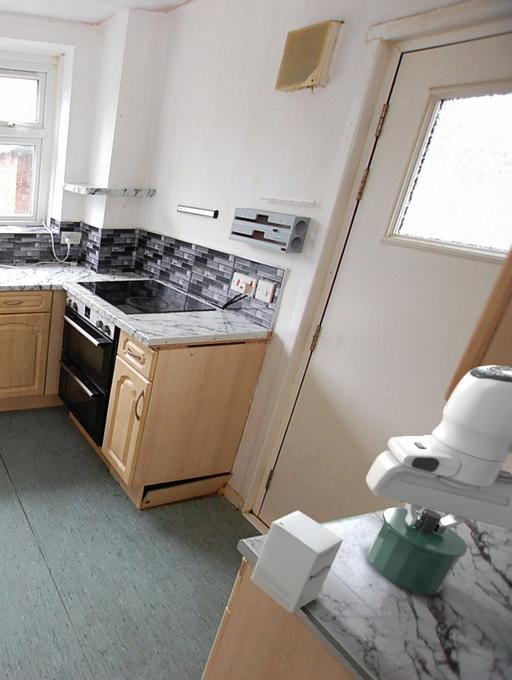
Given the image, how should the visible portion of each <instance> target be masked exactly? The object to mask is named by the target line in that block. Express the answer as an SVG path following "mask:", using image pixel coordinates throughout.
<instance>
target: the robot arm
mask: <svg viewBox="0 0 512 680" xmlns="http://www.w3.org/2000/svg"><path fill="white" fill-rule="evenodd" d="M450 394H451V395H450V396H449V398H448V400H447V401H446V403H445V406H444V408H443V411H442V418H441V421H440V423H439V424H438V425H437V426H436V427H435V428H434V429H433V431H432V432H431V434H430V435H419V436H418V435H417V436H392V437H390V438H389V439H388V441H387V447H388V449H389V450H385V451H382V452H381V453H380V454H379V455H378V456H376V458H375V460H374V461H373V463H372V465H371V467H370V469H369V470H368V472H367V475H366V477H365V482H366V484H367V487H368V488H369V490H370V491H371V492H372V494H373V495H375V496H377V497H380V498H384V499H388V500H392V501H396V502H400V503H403V504H405V508H406V509H407V511H408V514H407V516H406V518H405V521H406V523H407V524H408V525H409V526H413V527H417V528H420V527H421V524H422V523H423V520H422V518H420V516H419V514H416V512H421V511H422V510H423V509H430V510H433V511H435V512H439V513H444V514H448V515H446V516H444V517H442V518H441V520H440V522H439V524H438V526H437V528H436V529H435V531H434V532H436V533H440V534H444V535H447V534H448V532H449V530H450V529H453V528H456V527H457V526H460V525H462V524H464V523H465V522H466V520H467V519H469V520H473V521H477V522H481V523H485V524H489V525H492V526H497V527H500V528H504V529H507V530H508V529H509V530H512V471H509V470H506V469H503V468H504V467H505V464H506V462H507V461H508V459H509V457H510V455H512V366H506V365H483V366H477V367H474V368H472V369H471V370H469V371H468V372H466V374H465V375H464V376H463V377H462V378H461V379H460V380H459V382H458V383H457V385H456V386H455V388H454V389H453V391H452V393H450Z"/></svg>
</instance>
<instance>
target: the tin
mask: <svg viewBox="0 0 512 680" xmlns="http://www.w3.org/2000/svg"><path fill="white" fill-rule="evenodd" d="M460 558H461V557H458V558H450V557H444V556H440V555H436V554H433V553H430V552H428V551H425V550H423V549H421V548H418V547H416V546H414V545H413V544H411V543H409V542H407V541H406V540H404V539H403V538H401V537H400V536H398V535H397V534H396V533H394V532H393V531H392V530H391V529H390V528H389V527H388V526H387V524H386V523H385V521H384V519H382V522H381V525H380V526H379V528H378V531H377V532H376V535H375V536H374V539H373V540H372V543H371V545H370V547H369V550H368V552H367V559H368V561H369V563H370V564H371V566H372V567H373V568H374V569H375V570H376V571H377V572H378V573H379V574H381V576H382V577H384V578H385V579H387V580H388V581H389V582H391V583H393V584H394V585H396V586H398V587H399V588H402V589H404V590H406V591H408V592H411V593H415V594H418V595H423V596H435V595H437V594H439V593H440V592H441V590H442V589H443V588H444V586H445V584H446V583H447V581H448V579H449V577H450V575H451V574H452V572H453V570H454V568H456V565H457V563H458V561H459V560H460Z"/></svg>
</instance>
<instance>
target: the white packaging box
mask: <svg viewBox="0 0 512 680" xmlns="http://www.w3.org/2000/svg"><path fill="white" fill-rule="evenodd" d="M343 541H344V539H343V538H342V537H340V536H339V535H337V534H336V533H335V532H333V531H332V530H331V529H328V528H326V527H325V526H323V525H322V524H321V523H319V522H317V521H316V520H314V519H313V518H311V517H309V516H308V515H306V514H305V513H303V512H301V511H300V510H295V511H293V512H291V513H288V514H287V515H284V516H282V517H281V518H278V519H276V520H274V521H272V522H271V525H270V527H269V530H268V533H267V535H266V538H265V541H264V543H263V545H262V548H261V551H260V554H259V556H258V559H257V561H256V564H255V566H254V570H253V571H252V574H251V577H250V581H251V582H253V583H254V584H255V585H256V586H257V587H258V588H259V589H261V590H262V591H263V592H264V593H265V594H267V595H268V596H269V597H270V598H271V599H272V600H274V601H275V602H276V603H277V604H278V605H280V606H281V607H282V608H283V609H284V610H285V611H286V612H288V613H289V614H291V615H292V614H294V613H295V612H297V611H298V610H299V609H301V608H302V607H304V606H306V605H307V604H308V603H310V602H313V601H314V600H316V599H318V596H319V594H320V593H321V589H322V588H323V586H324V583H325V581H326V579H327V577H328V575H329V573H330V570H331V568H332V567H333V563H334V562H335V559H336V557H337V555H338V553H339V550H340V548H341V545H342V543H343Z"/></svg>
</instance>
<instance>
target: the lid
mask: <svg viewBox="0 0 512 680" xmlns="http://www.w3.org/2000/svg"><path fill="white" fill-rule="evenodd" d="M407 514H408V511H407V508H404V507H390V508H387V509H385V510H384V512H383V515H382V518H383V519H382V520H384V521H385V523H386V524H387V526H388V527H389V528H390V529H391V530H392V531H393V532H394V533H396V534H397V535H398V536H400V537H401V538H403V539H404V540H406V541H407V542H409V543H411V544H413V545H414V546H416V547H418V548H421V549H423V550H425V551H428V552H430V553H433V554H436V555H440V556H444V557H450V558H458V557H460V558H461V557H463V556H465V555H466V553H467V551H468V546H467V544H466V542H465V541H464V539H462V537H461V536H460V535H458V534H457V533H456V532H455V531H454V530H453V529H452V528H450V530H449V532H448V534H447V535H444V534H440V533H436V532H434V531H435V529H436V528H437V526H438V524H439V522H440V520H441V519H442V518H443V517H442V516H441V514H440V513H438V511H436V510H432V509H428V508H422V510H421V512H419V511H416V514H419V516H420V518H422V520H423V523H422V524H421V527H420V528H417V527H413V526H409V525H408V524H407V523H406V521H405V518H406V516H407Z"/></svg>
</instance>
